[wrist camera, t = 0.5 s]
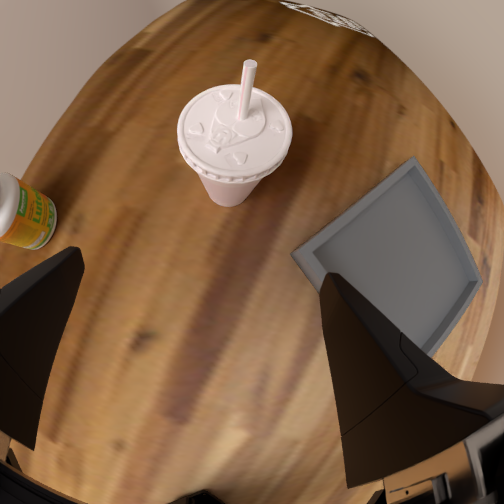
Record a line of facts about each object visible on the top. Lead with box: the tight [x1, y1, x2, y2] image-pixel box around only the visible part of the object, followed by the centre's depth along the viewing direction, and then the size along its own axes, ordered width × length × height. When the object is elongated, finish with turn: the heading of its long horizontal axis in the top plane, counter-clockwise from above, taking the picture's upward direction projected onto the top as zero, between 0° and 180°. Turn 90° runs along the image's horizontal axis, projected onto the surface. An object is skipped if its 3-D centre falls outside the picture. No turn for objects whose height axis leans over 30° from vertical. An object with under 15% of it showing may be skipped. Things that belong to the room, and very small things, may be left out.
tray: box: [290, 156, 483, 357], centre depth 23 cm, size 17×17×2 cm
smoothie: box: [177, 60, 292, 207], centre depth 16 cm, size 6×6×14 cm
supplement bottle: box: [0, 173, 57, 249], centre depth 16 cm, size 5×5×10 cm
